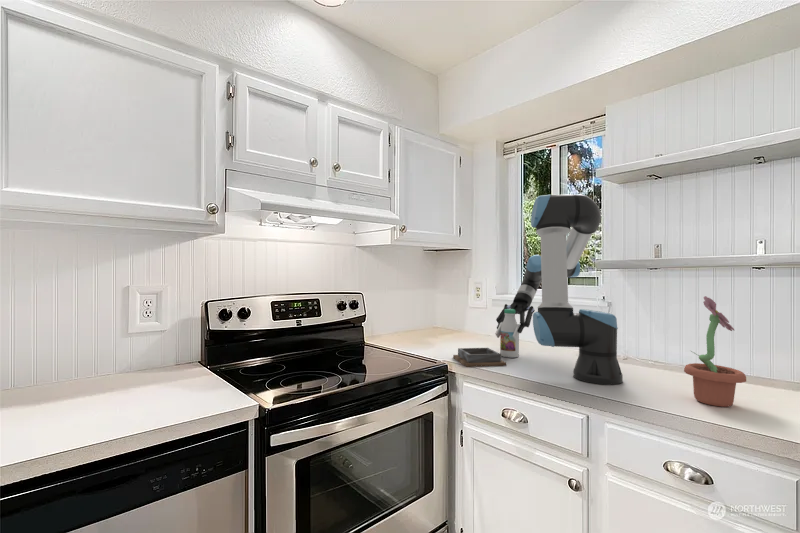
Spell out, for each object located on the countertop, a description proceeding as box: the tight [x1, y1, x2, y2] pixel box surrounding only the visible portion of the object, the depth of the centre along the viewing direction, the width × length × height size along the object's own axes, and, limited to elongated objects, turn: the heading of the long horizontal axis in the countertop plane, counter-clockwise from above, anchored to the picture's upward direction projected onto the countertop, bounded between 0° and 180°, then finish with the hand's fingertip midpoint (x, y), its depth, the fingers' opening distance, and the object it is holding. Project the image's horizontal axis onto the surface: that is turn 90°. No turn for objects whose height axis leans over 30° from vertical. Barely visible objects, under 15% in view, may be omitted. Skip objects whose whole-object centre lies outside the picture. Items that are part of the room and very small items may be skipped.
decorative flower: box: [683, 296, 747, 408], centre depth 113 cm, size 15×14×30 cm
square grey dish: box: [453, 347, 507, 368], centre depth 162 cm, size 16×16×4 cm
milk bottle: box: [499, 309, 520, 359], centre depth 173 cm, size 8×8×20 cm
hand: (505, 336), depth 170 cm, fingers closed on milk bottle, 7 cm apart
